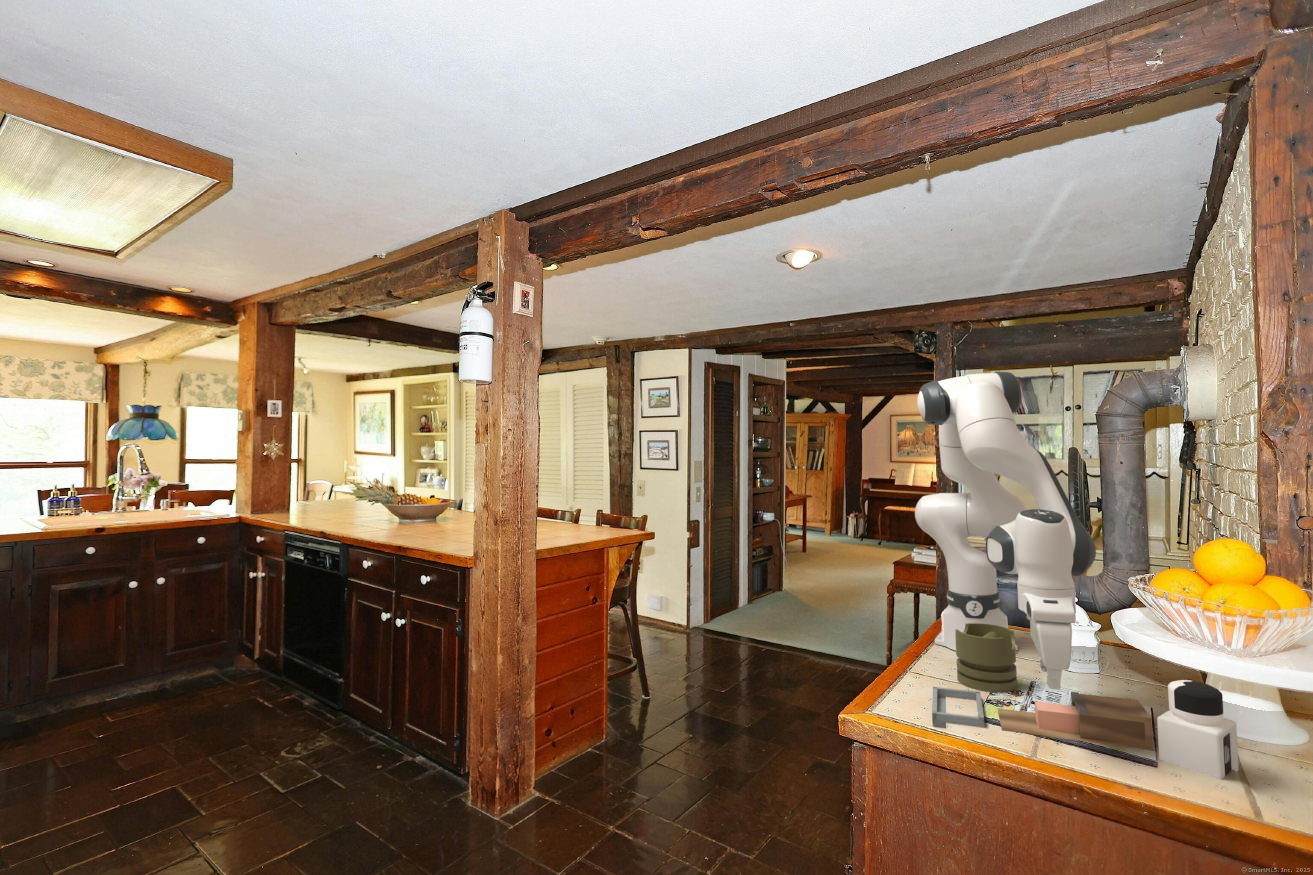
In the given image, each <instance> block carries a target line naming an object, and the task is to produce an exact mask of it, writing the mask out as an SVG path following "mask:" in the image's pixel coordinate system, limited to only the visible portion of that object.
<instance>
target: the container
mask: <svg viewBox="0 0 1313 875" xmlns="http://www.w3.org/2000/svg"><path fill="white" fill-rule="evenodd" d="M1167 693H1168V694H1167V695H1168V697H1167V698H1168V709H1169V710H1167V711H1166V712H1164V713H1162V714H1160V715H1159V716H1157V718H1156V722H1157V742H1158V743H1157V744H1158V758H1159V760H1160V761H1162V762H1165V763H1168V764H1172V765H1175V766H1177V767H1181V768H1184V769H1186V770H1189V771H1194V772H1196V773H1199V774H1202V775H1206V776H1209V777H1212V778H1214V779H1218V780H1223V779H1224V778H1225V777H1227V775H1229V774H1230V773H1231V772H1232V771H1233V770H1234V771H1235V773H1237V772H1239V768H1240V767H1239V749H1238V748H1239V747H1238V734H1237V733H1238V731H1237V722H1236V721H1235V720H1233V719H1229V718H1225V717H1224V716H1225V715H1224V700H1223V699H1224V698H1223V693H1222V692H1221V691H1220V690H1219V689H1218V688H1216V687H1215V686H1212V685H1210V684H1207V683H1204V682H1201V681H1198V680H1197V681H1196V680H1188V679H1180V680H1179V679H1178V680H1173V681H1171V682H1169V683H1168V684H1167Z"/></svg>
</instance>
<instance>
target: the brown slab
mask: <svg viewBox="0 0 1313 875" xmlns="http://www.w3.org/2000/svg"><path fill="white" fill-rule="evenodd" d="M1070 701H1071V702H1070V704H1071V705H1070V706H1076V708H1077V710H1078V714H1079V733H1073V732H1065V731H1057V730H1049V729H1042V728H1038V725H1037V722H1036V717H1035V712H1031V711H1023V710H1015V709H1006V708H1005V709H1004V708H998V707H997V709H996V710H997V715H998V719H999V724H1000V728H1001V731H1004V732H1010V733H1011V732H1012V733H1018V734H1026V735H1032V736H1033V735H1034V736H1039V737H1040V736H1042V737H1048V738H1057V739H1063V740H1072V741H1078V742H1080V741H1081V742H1087V743H1095V744H1102V745H1109V746H1117V747H1122V748H1123V747H1125V748H1131V749H1138V750H1139V749H1140V750H1147V751H1156V749H1154V742H1153V741H1154V740H1153V739H1154V738H1153V737H1154V735H1153V722H1152V721H1153V719H1152V716H1150V714H1149V713H1148V712H1147V710H1146V709H1145V707H1144V706H1143V705H1142V704H1141V702H1140V701H1139V700H1138V699H1131V698H1122V697H1112V696H1104V695H1103V696H1102V695H1093V694H1085V693H1084V694H1083V693H1079V692H1076V691H1070Z"/></svg>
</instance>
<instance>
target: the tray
mask: <svg viewBox="0 0 1313 875" xmlns="http://www.w3.org/2000/svg"><path fill="white" fill-rule="evenodd" d="M946 698H954V699H963V700H971V701H975V702H976V709H977V716H973V715H967V714H966V715H964V714H957V713H949V712H947V702H946V700H947V699H946ZM931 703H932V706H931V708H932V710H931V716H932V717H931V718H932V726H933V727H937V728H943V729H944V728H947V724H955V725H961V726H962V725H963V726H970V727H976V728H983V729H984V728H986V727H985V725H986V724H985V715H984V708H983V702H982V695H981V691H977V690H976V691H975V690H965V689H957V688H949V687H940V686H939V687H938V686H932V702H931Z"/></svg>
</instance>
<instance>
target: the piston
mask: <svg viewBox="0 0 1313 875" xmlns="http://www.w3.org/2000/svg"><path fill="white" fill-rule="evenodd" d="M955 638H956V650H955V655H956V657H957V659H956V676H957V678H956V679H957V682H958V683H959V684H961V685H962V686H964V687H966V688H970V689H972V690H974V691H975V690H976V691H978V692H986V693H998V694H999V693H1009V692H1013V691H1015V690H1017V688H1018V676H1017V674H1018V673H1017V665H1016V664H1015V663H1016V662H1017V651H1016V650H1015V644H1016V638H1015V632H1014V631H1013V629H1011V628H1009V627H1008V628H1006V627H1002V626H998V625H993V624H984V623H966V624H965V629H964V631H963V632H961V631H959V630H957V629H955Z"/></svg>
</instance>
